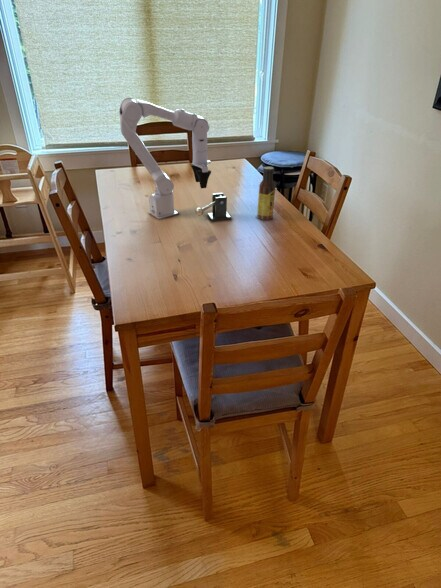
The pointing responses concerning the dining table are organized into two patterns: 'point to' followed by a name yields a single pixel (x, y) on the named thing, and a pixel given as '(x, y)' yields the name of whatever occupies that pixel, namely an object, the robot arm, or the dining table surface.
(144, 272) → the dining table surface
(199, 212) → the tap lever
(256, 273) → the dining table surface
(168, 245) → the dining table surface
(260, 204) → the sauce bottle
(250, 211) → the dining table surface
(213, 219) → the dark grey lever bracket
